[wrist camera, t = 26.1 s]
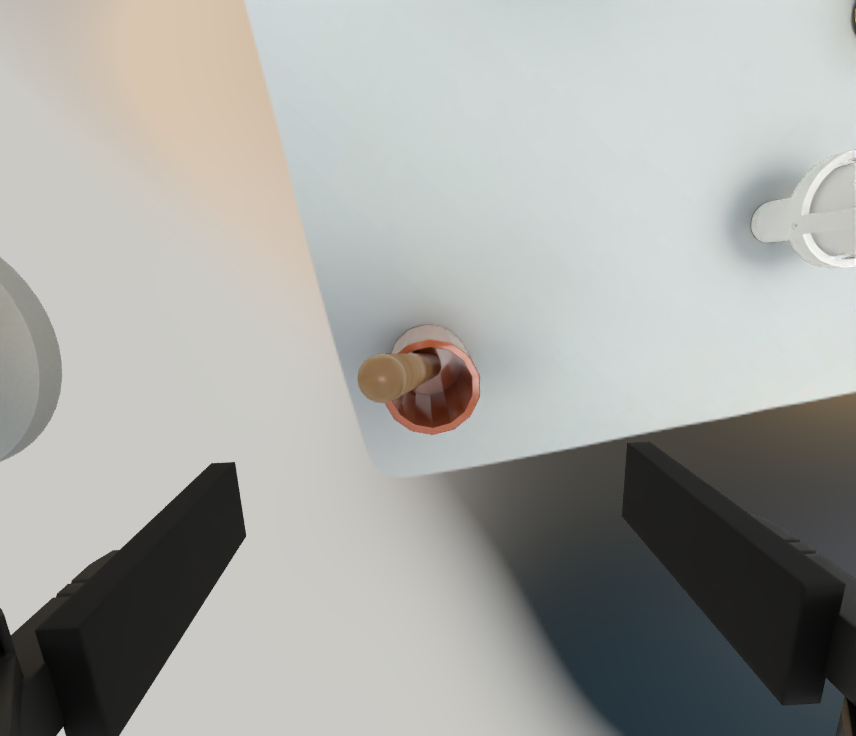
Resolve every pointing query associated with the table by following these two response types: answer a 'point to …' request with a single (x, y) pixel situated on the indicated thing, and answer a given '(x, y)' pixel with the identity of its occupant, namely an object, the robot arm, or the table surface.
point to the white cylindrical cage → (816, 214)
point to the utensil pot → (437, 383)
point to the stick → (396, 374)
